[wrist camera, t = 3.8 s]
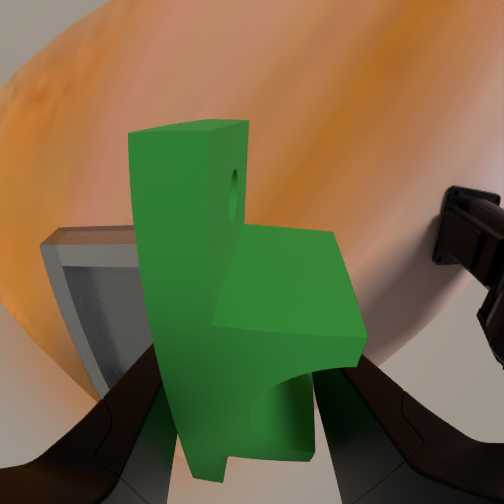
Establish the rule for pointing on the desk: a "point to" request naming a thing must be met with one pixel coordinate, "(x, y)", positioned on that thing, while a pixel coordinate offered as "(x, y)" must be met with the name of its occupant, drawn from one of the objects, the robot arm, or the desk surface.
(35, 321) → the desk surface
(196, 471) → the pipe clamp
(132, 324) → the gray rectangular tray
